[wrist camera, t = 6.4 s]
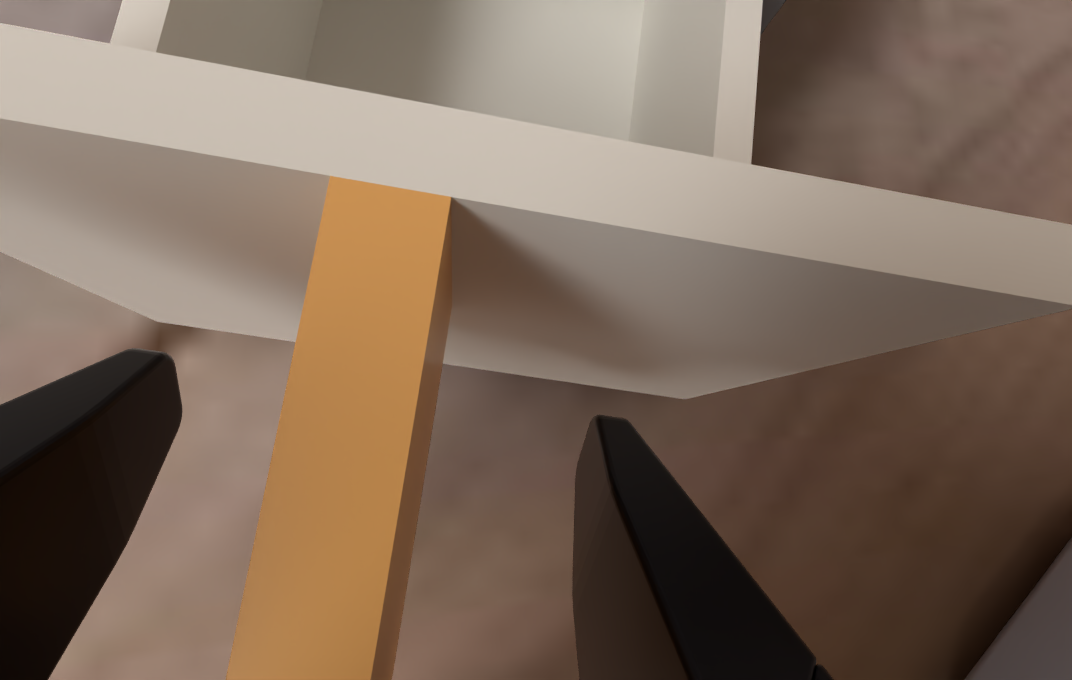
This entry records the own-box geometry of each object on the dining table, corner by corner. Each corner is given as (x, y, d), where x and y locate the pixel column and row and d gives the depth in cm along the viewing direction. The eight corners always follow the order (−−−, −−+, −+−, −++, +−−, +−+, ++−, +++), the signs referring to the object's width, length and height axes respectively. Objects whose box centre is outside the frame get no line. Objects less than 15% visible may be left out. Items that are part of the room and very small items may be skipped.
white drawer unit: (667, 607, 15) (1103, 923, 5) (101, 543, 14) (-872, 792, 4) (719, 1, 18) (1051, -564, 8) (262, -97, 17) (-22, -913, 7)
